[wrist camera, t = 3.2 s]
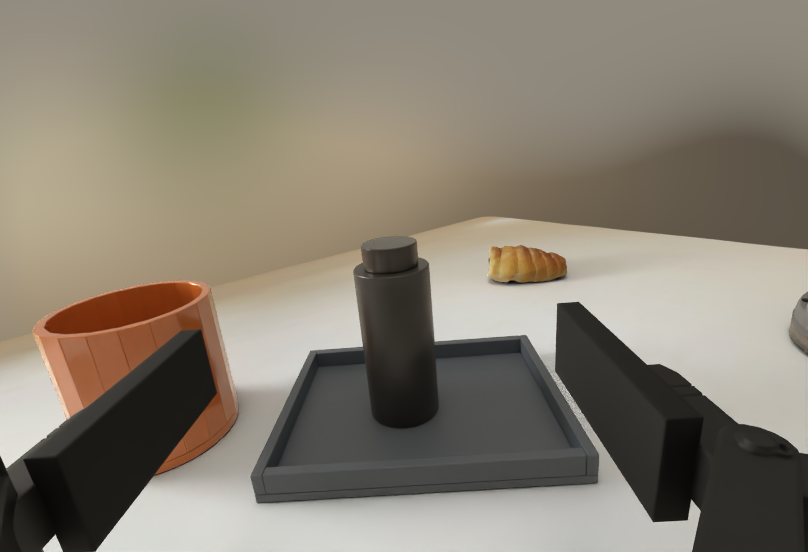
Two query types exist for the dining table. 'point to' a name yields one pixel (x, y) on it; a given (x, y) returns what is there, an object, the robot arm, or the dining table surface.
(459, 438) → the tray
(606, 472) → the dining table surface
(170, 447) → the robot arm
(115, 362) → the pot
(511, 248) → the pastry
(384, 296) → the pepper mill
